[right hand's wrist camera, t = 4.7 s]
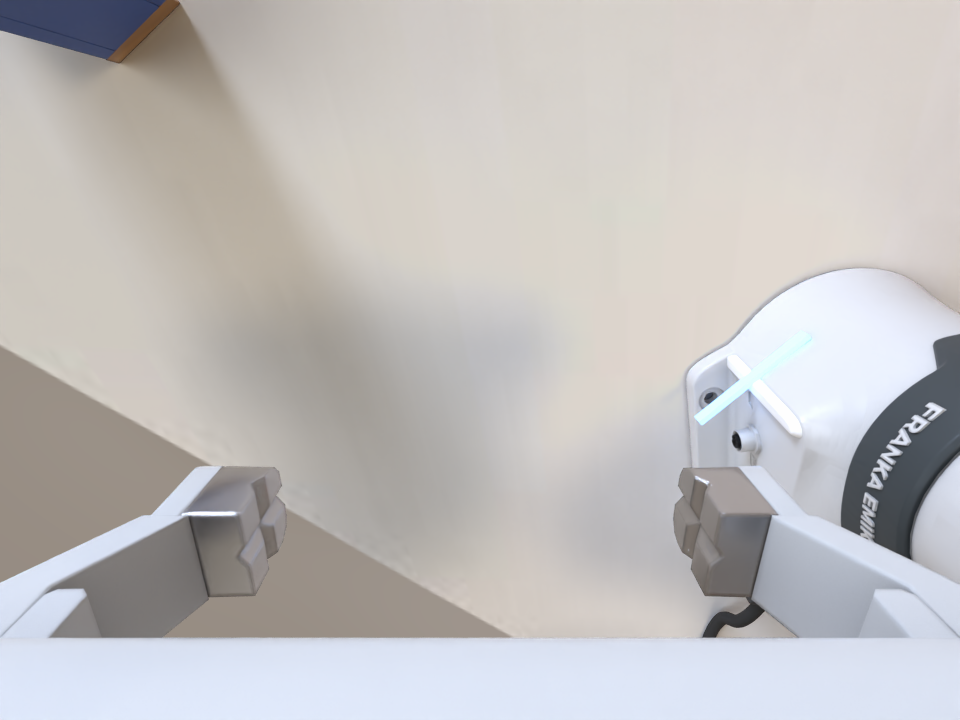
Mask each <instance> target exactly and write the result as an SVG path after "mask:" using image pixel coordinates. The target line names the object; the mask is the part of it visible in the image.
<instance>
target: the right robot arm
mask: <svg viewBox="0 0 960 720" xmlns="http://www.w3.org/2000/svg"><path fill="white" fill-rule="evenodd" d="M686 387H687V402H688V416H689V430H690V445H691V459H692V468H683V470H682V472H681V474H680V478H679V484H678V486H679V488H680V490H681V491H682V493H683V495H684V496H683V497H682V498H681V499H680V500H679V501H678V502H677V503H676V504H675V509H674V517H673V521H674V533H675V536H676V539H677V543H678V545H679V547H680V549H681V551H682V552H683V553H684V554H686V555H687V556H689V557H690V558H692V559H693V560H692V565H691V570H692V572H693V574H694V576H695V578H696V580H697V582H698V584H699V586H700V587H701V589H702V591H703V593H704V595H705V596H724V597H746V598H747V600H748V602H749V603H750V605H749V606H748V607H747V608H746V609H745V610H744V611H742V612H741V613H739V614H737V615H734V614H732V613H729V612H720V613H718V614H716V615H715V616H714V617H713V619H712V620H711V621H710V623H709V624H708V626H707V628H706V630H705V632H704V635H703V637H702V638H162V637H163V636H165V635H166V634H167V633H168V632H169V631H171V630H172V629H173V628H174V627H176V626H177V625H178V624H179V623H181V622H182V621H183V620H184V619H185V618H187V617H188V616H189V615H190V614H192V613H193V612H194V611H195V610H196V609H198V608H199V607H200V606H201V605H203V604H204V603H205V602H206V601H208V599H209V598H208V597H235V596H255V595H256V593H257V591H258V589H259V588H260V586H261V584H262V582H263V580H264V578H265V576H266V574H267V572H268V570H269V566H268V560H267V559H268V558H270V557H271V556H273V555H274V554H276V553H277V552H278V551H279V549H280V547H281V545H282V543H283V540H284V535H285V531H286V508H285V504H284V503H283V502H282V501H281V500H280V499H279V498H278V497H277V496H276V495H277V493H278V491H279V490H280V488H281V486H282V484H281V479H280V474H279V471H278V470H277V469H276V468H275V467H240V466H226V467H224V466H201V467H197V468H195V469H194V470H193V471H192V472H191V473H190V474H189V475H188V476H187V477H186V478H185V480H184V481H183V482H182V483H181V484H180V485H179V486H178V487H177V488H176V489H175V490H174V491H173V492H172V494H171V495H170V496H169V497H168V498H167V499H166V500H165V501H164V502H163V503H162V504H161V505H160V506H159V507H158V509H157V510H156V511H155V512H154V513H153V514H152V515H146V516H145V515H143V516H141V517H138V518H137V519H134V520H132V521H130V522H128V523H126V524H124V525H122V526H119V527H117V528H115V529H113V530H111V531H109V532H107V533H105V534H103V535H101V536H99V537H96V538H94V539H92V540H90V541H88V542H86V543H84V544H81V545H79V546H77V547H75V548H73V549H71V550H69V551H67V552H65V553H62V554H60V555H58V556H56V557H54V558H52V559H50V560H48V561H46V562H43V563H41V564H39V565H37V566H35V567H33V568H31V569H29V570H27V571H24V572H22V573H20V574H18V575H16V576H14V577H12V578H10V579H7V580H6V581H3V582H1V583H0V720H960V314H959V313H958V312H956V311H954V310H952V309H950V308H949V307H947V306H946V305H944V304H943V303H941V302H940V301H938V300H937V299H936V298H934V297H933V296H932V295H931V294H930V293H928V292H927V291H926V290H925V289H924V288H923V287H922V286H920V285H919V284H917V283H916V282H914V281H913V280H911V279H909V278H907V277H905V276H903V275H900V274H897V273H894V272H890V271H886V270H881V269H873V268H852V269H843V270H838V271H833V272H829V273H825V274H822V275H819V276H816V277H813V278H811V279H808V280H806V281H804V282H802V283H799V284H797V285H796V286H794V287H792V288H790V289H788V290H787V291H785V292H783V293H782V294H780V295H779V296H778V297H776V298H775V299H773V300H772V301H771V302H770V303H768V304H767V305H766V306H765V307H764V308H763V309H761V310H760V311H759V312H758V313H757V314H756V315H755V316H754V317H753V318H752V319H751V321H750V322H749V323H748V324H747V325H746V326H745V327H744V329H743V330H742V331H741V332H740V333H739V334H738V335H737V336H736V337H735V338H734V339H733V340H732V341H731V342H730V343H729V344H728V345H726V346H724V347H722V348H720V349H718V350H717V351H715V352H713V353H711V354H710V355H708V356H706V357H705V358H703V359H701V360H700V361H699V362H697V363H696V364H695V365H694V366H693V367H692V368H691V369H690V371H689V372H688V374H687V378H686ZM710 392H713V396H712V397H711V398H710V399H707V400H704V398H705V396H706V395H707V394H708V393H710ZM764 611H766V612H767V613H769V614H770V615H771V616H772V617H773V618H775V619H776V620H777V621H778V622H780V623H781V624H782V625H783V626H785V627H786V628H787V629H788V630H789V631H791V632H792V633H793V634H794V635H796V636H797V637H798V638H716V636H717V634H718V632H719V631H720V629H721V628H722V627H723V626H724V625H725V624H727V625H730V626H732V627H735V628H740V627H745V626H747V625H749V624H751V623H752V622H754V621H755V620H756V619H757V618H758V617H759V616H760V615H761V614H762V613H763V612H764Z"/></svg>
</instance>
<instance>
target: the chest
mask: <svg viewBox="0 0 960 720" xmlns="http://www.w3.org/2000/svg"><path fill="white" fill-rule="evenodd" d="M179 4H180V2H179V1H178V0H0V30H1V31H5V32H9V33H12V34H16V35H20V36H23V37H27V38H31V39H34V40H38V41H42V42H45V43H49V44H52V45H56V46H60V47H63V48H67V49H71V50H74V51H78V52H82V53H85V54H89V55H93V56H96V57H100V58H104V59H106V60H109V61H112V62H116V63H120V62H121V61H122V60H123V59H124V58H125V57H126V56H127V55H128V54H129V53H130V52H131V51H132V50H133V49H134V48H135V47H136V46H137V45H138V44H139V43H140V42H141V41H142V40H143V39H144V38H145V37H146V36H147V35H148V34H149V33H150V32H151V31H152V30H153V29H154V28H155V27H156V26H157V25H158V24H159V23H161V22H162V21H163V20H164V19H165V18H166V17H167V16H168V15H169V14H170V13H171V12H172V11H173V10H174V9H175V8H176V7H177V6H178V5H179Z"/></svg>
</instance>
